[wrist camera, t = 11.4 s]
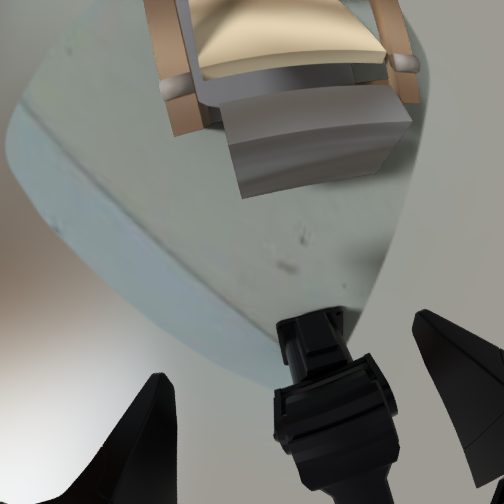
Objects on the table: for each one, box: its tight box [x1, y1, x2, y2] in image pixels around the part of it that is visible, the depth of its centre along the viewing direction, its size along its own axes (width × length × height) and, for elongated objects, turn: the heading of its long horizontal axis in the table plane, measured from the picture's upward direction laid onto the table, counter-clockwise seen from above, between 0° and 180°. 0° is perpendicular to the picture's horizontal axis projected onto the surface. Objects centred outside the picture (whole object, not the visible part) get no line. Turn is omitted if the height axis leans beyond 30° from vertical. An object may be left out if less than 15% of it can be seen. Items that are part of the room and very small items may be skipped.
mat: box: [175, 0, 355, 123], centre depth 13 cm, size 12×11×1 cm
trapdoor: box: [188, 0, 412, 199], centre depth 12 cm, size 13×8×6 cm
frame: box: [143, 0, 420, 137], centre depth 10 cm, size 12×11×8 cm
